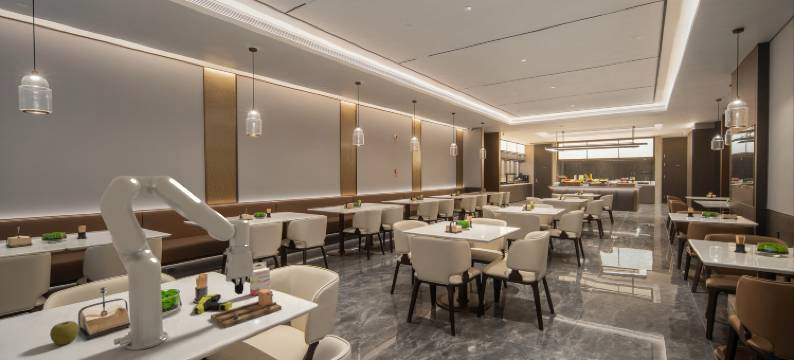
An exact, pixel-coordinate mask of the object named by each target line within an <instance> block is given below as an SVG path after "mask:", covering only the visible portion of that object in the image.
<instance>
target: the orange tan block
mask: <svg viewBox="0 0 794 360" xmlns="http://www.w3.org/2000/svg"><path fill="white" fill-rule="evenodd" d="M273 296H274V293H273V290H271V289H270V290H269V289H263V290H260V291H258V295H257V299H258V300H257V301H258V303H259V305H261V306H264V305H267V304H270V303H274V300H273Z"/></svg>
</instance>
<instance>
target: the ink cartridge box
mask: <svg viewBox="0 0 794 360" xmlns="http://www.w3.org/2000/svg"><path fill="white" fill-rule="evenodd" d="M263 289H269V290H271V271H270V268H269V267H267V262H266V261H261V262H255V263H253V274H252V277H250V278H249V292H250V295H252V296H254V297H255V296H258V291H260V290H263Z"/></svg>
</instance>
